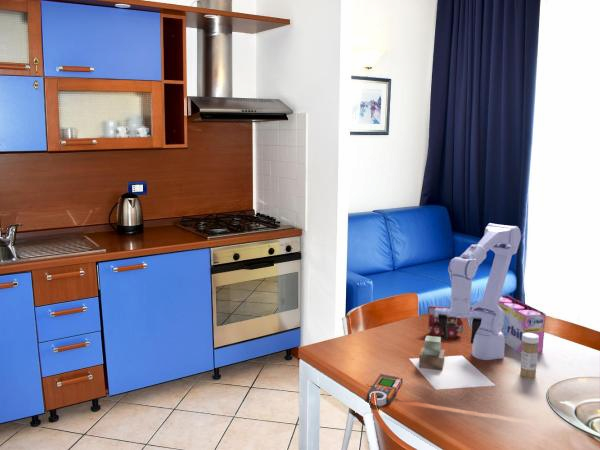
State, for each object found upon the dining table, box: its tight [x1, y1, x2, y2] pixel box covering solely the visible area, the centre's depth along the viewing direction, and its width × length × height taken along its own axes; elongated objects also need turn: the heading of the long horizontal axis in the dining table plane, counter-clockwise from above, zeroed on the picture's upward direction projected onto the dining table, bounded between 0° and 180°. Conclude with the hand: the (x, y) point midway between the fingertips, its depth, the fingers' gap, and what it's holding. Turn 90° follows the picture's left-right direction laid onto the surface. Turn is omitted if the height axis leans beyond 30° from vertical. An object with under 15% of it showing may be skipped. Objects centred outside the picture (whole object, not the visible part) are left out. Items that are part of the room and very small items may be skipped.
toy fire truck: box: [427, 305, 464, 339], centre depth 201 cm, size 7×12×10 cm, turn 75°
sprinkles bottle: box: [519, 333, 539, 379], centre depth 166 cm, size 5×5×13 cm
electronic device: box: [366, 373, 404, 407], centre depth 156 cm, size 7×3×15 cm
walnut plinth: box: [418, 346, 446, 371], centre depth 174 cm, size 7×7×4 cm
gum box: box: [487, 294, 546, 354], centre depth 196 cm, size 24×8×14 cm, turn 12°
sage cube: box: [424, 335, 442, 356], centre depth 173 cm, size 4×4×4 cm
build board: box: [408, 355, 496, 391], centre depth 169 cm, size 18×22×1 cm
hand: (458, 340), depth 169 cm, fingers open, 7 cm apart
